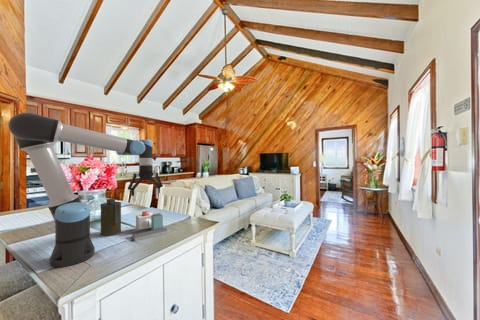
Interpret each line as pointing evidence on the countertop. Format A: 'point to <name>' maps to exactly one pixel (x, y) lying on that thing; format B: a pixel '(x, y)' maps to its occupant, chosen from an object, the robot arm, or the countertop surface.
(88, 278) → the countertop surface
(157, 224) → the block
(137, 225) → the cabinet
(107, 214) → the canister
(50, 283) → the countertop surface
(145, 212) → the button
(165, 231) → the rail
